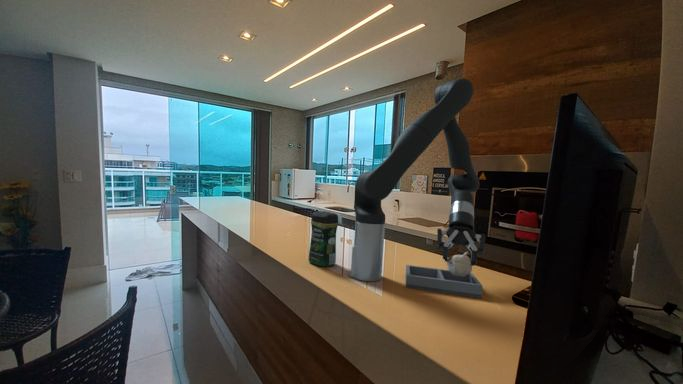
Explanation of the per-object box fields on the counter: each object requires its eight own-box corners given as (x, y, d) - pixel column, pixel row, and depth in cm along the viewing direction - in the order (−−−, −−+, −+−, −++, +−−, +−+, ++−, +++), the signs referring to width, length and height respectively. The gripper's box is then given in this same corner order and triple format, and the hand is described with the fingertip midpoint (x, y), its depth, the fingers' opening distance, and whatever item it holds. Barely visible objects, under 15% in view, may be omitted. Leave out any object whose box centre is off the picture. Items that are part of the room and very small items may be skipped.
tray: (405, 287, 76) (406, 275, 76) (405, 275, 87) (406, 264, 87) (481, 298, 72) (482, 285, 71) (471, 284, 82) (472, 273, 82)
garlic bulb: (448, 277, 76) (450, 249, 75) (444, 270, 82) (446, 245, 82) (473, 280, 74) (475, 252, 74) (467, 273, 81) (469, 247, 80)
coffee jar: (304, 262, 94) (307, 210, 94) (320, 258, 100) (323, 209, 100) (323, 269, 88) (326, 213, 87) (339, 264, 94) (342, 212, 93)
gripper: (438, 208, 87) (432, 251, 77) (487, 212, 82) (489, 259, 71) (438, 222, 92) (433, 264, 82) (484, 227, 87) (485, 273, 76)
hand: (459, 262), depth 77 cm, fingers closed on garlic bulb, 6 cm apart
